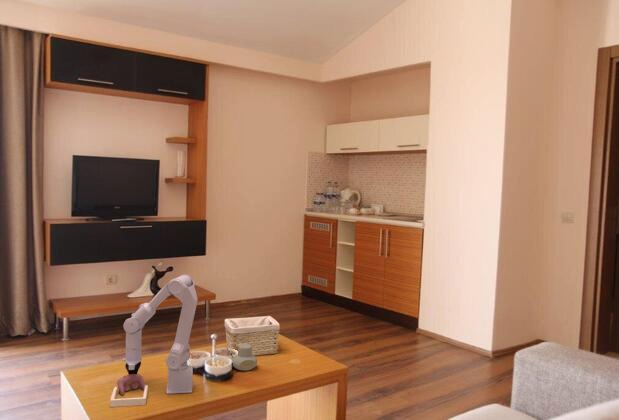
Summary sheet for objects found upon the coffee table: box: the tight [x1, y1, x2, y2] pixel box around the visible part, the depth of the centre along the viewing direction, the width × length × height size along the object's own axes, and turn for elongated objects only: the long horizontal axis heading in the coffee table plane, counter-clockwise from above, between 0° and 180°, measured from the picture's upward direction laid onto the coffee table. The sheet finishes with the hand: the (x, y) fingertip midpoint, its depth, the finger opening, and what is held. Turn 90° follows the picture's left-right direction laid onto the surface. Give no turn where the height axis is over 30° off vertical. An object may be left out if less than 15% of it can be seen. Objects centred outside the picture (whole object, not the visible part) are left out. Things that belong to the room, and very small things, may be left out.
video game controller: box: [116, 373, 146, 396], centre depth 200 cm, size 10×5×7 cm, turn 130°
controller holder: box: [109, 384, 149, 408], centre depth 192 cm, size 12×12×2 cm
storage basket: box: [224, 315, 281, 357], centre depth 249 cm, size 24×16×15 cm
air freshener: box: [231, 344, 258, 372], centre depth 227 cm, size 11×8×10 cm
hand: (133, 381), depth 205 cm, fingers closed
